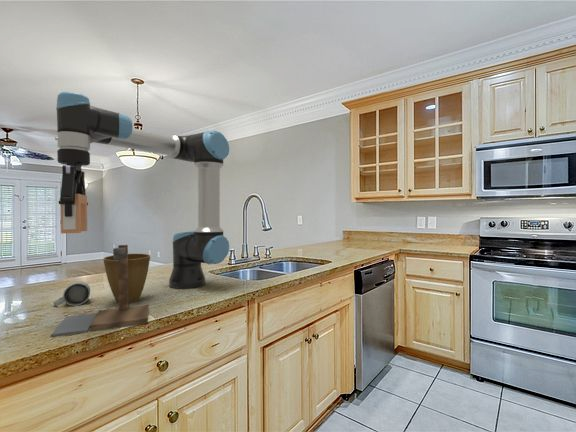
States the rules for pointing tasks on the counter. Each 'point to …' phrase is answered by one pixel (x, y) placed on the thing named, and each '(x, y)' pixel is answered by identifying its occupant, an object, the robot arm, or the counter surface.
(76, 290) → the ceramic mug
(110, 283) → the plant pot
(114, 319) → the hook stand
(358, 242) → the counter surface
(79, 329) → the mat
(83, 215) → the orange notched block
